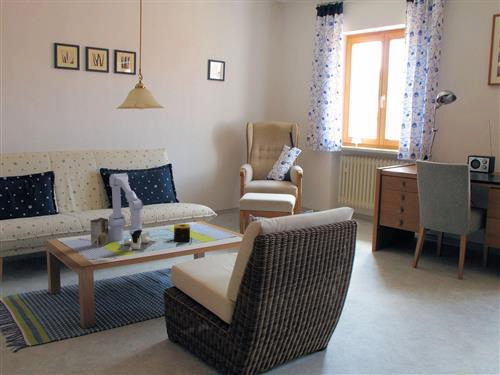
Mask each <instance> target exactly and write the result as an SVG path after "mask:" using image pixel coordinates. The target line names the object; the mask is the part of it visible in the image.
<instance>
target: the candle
mask: <svg viewBox="0 0 500 375" xmlns="http://www.w3.org/2000/svg"><path fill="white" fill-rule="evenodd" d="M173 226H174V227H173V228H174V229H173V242H174V243H190V242H191V225H190V223H174V224H173Z"/></svg>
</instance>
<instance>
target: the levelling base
mask: <svg viewBox="0 0 500 375" xmlns="http://www.w3.org/2000/svg"><path fill="white" fill-rule="evenodd" d="M123 240H124V241H123V243H124V244H123V245H121V246H120V247H118V248H117V249H116V250H118V251H127V252H128V251H129V252H141V253H142V252H145V250H147V249H148V248H149V247H151V246H152V245H154V244H155V243H156V242H157V240H150V239H149V242H148V243H141V244H140V249H132V243H131V238H125V239H123Z"/></svg>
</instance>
